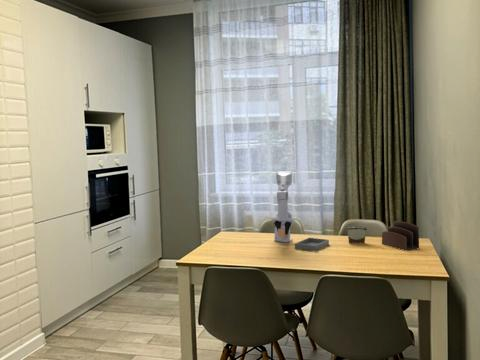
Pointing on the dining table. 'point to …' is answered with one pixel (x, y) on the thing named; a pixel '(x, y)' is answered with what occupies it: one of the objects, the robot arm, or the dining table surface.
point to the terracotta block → (282, 233)
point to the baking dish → (311, 244)
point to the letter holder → (402, 236)
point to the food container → (356, 234)
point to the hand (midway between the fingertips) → (283, 233)
